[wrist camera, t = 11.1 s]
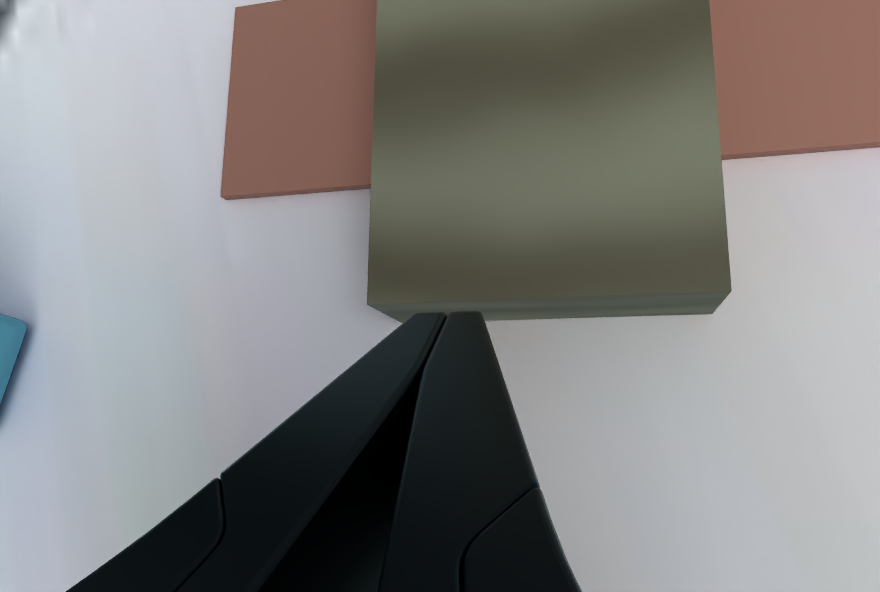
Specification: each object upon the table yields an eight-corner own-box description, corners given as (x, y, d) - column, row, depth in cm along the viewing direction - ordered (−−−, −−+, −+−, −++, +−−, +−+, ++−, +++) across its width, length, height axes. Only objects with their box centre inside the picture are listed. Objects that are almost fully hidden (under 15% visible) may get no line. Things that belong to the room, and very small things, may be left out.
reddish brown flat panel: (958, 140, 20) (965, 134, 20) (226, 199, 26) (220, 196, 25) (923, -93, 22) (929, -102, 21) (240, 13, 27) (235, 7, 27)
